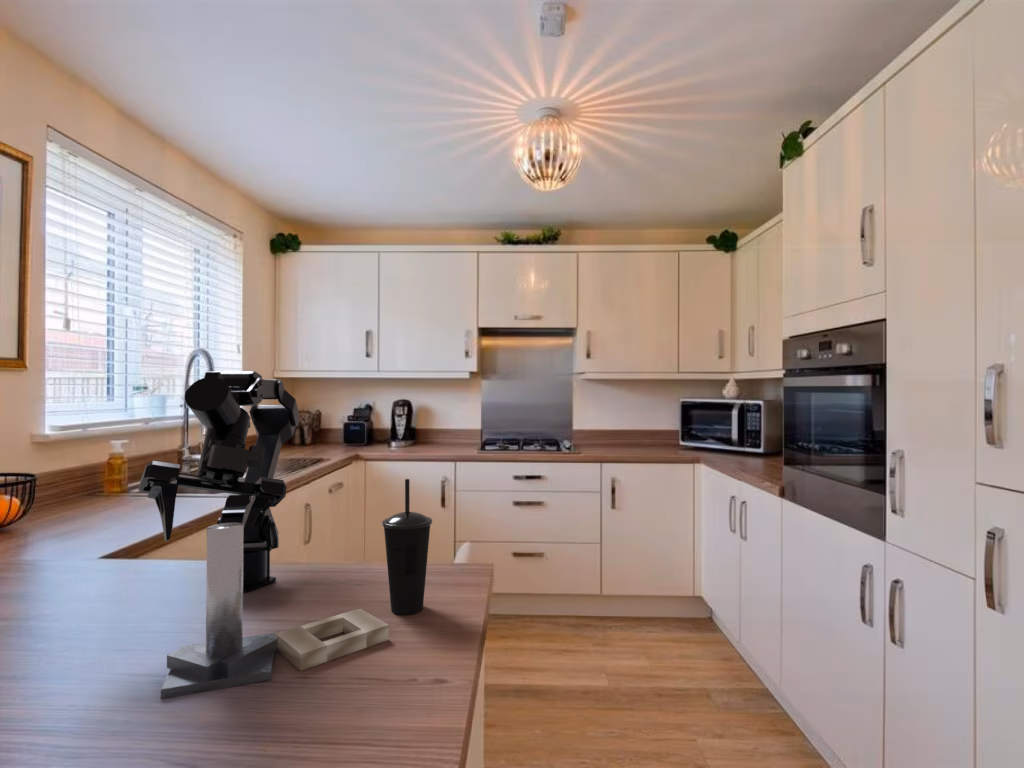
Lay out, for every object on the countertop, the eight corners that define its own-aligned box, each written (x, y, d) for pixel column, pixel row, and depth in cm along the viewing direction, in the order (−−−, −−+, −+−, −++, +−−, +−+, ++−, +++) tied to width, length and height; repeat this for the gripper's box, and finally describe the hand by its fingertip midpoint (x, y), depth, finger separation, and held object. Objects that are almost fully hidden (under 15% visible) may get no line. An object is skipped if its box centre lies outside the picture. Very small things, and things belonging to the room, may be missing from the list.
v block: (177, 654, 70) (177, 635, 70) (279, 639, 74) (279, 621, 74) (155, 699, 60) (155, 676, 60) (275, 678, 64) (275, 657, 64)
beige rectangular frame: (300, 671, 66) (300, 654, 66) (275, 648, 71) (275, 633, 71) (388, 639, 74) (388, 624, 74) (359, 622, 80) (359, 608, 80)
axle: (236, 646, 70) (237, 521, 70) (246, 657, 67) (247, 526, 67) (201, 656, 67) (203, 526, 67) (210, 669, 64) (211, 532, 64)
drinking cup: (441, 604, 86) (441, 477, 87) (413, 622, 79) (413, 484, 80) (401, 596, 90) (401, 474, 90) (371, 613, 83) (371, 481, 83)
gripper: (165, 406, 74) (134, 519, 66) (303, 434, 84) (291, 534, 76) (152, 438, 82) (122, 543, 74) (280, 459, 92) (267, 554, 84)
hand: (204, 543), depth 77 cm, fingers open, 9 cm apart
